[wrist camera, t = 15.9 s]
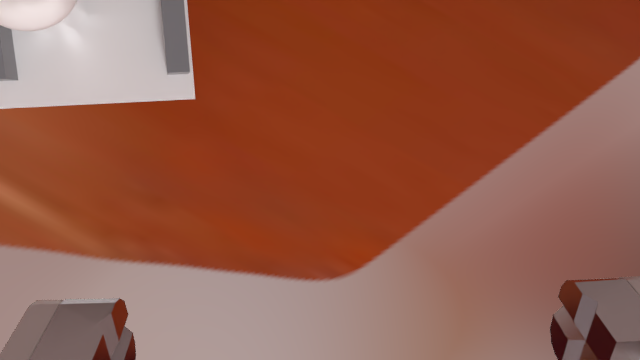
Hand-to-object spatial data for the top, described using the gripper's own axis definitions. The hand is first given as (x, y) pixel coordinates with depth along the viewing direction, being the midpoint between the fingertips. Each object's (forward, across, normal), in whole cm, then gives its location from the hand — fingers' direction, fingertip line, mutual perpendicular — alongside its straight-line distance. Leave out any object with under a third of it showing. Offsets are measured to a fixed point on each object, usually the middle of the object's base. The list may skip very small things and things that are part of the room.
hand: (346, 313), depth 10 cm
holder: (+25, +13, 0) cm, 28 cm away
